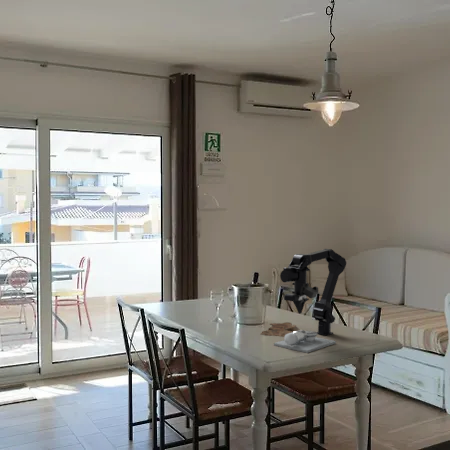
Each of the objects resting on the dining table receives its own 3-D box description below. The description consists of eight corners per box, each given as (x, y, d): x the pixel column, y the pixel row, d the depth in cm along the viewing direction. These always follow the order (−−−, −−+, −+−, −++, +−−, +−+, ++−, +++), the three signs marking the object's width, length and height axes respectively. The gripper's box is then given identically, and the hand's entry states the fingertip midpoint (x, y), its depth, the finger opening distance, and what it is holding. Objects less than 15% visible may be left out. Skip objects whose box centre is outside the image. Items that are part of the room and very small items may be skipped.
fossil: (283, 339, 263) (283, 329, 263) (255, 334, 273) (255, 325, 272) (303, 331, 279) (303, 322, 279) (276, 327, 288) (276, 318, 288)
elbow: (306, 336, 262) (306, 325, 262) (320, 339, 256) (320, 328, 256) (287, 341, 251) (287, 330, 251) (301, 344, 246) (301, 333, 246)
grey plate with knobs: (303, 336, 267) (303, 323, 267) (335, 343, 255) (335, 329, 255) (273, 345, 250) (274, 330, 250) (307, 352, 238) (307, 337, 238)
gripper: (303, 284, 251) (303, 319, 251) (325, 280, 265) (325, 312, 265) (283, 282, 258) (283, 315, 259) (305, 278, 272) (305, 309, 273)
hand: (300, 313), depth 264 cm, fingers closed
